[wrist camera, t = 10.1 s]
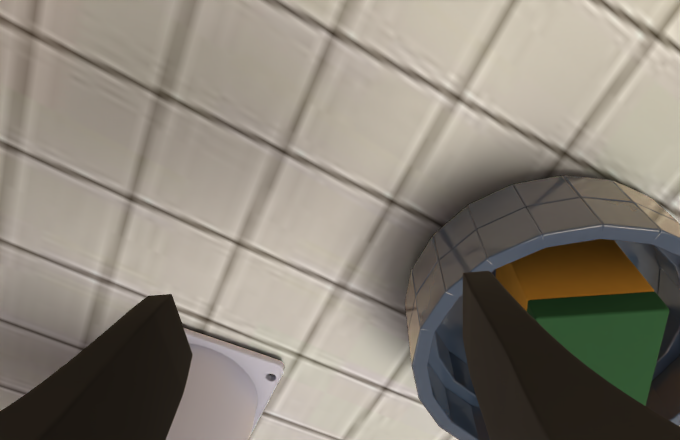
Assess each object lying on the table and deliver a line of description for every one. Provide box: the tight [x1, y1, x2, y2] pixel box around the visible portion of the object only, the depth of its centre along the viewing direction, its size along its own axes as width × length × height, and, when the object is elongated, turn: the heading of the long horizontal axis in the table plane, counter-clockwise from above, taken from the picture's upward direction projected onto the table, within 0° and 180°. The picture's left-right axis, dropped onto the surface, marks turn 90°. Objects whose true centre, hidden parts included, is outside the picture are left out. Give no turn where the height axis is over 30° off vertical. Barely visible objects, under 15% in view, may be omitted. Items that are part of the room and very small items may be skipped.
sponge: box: [496, 239, 669, 406], centre depth 21 cm, size 8×4×6 cm, turn 7°
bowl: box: [405, 175, 680, 440], centre depth 22 cm, size 12×12×4 cm
